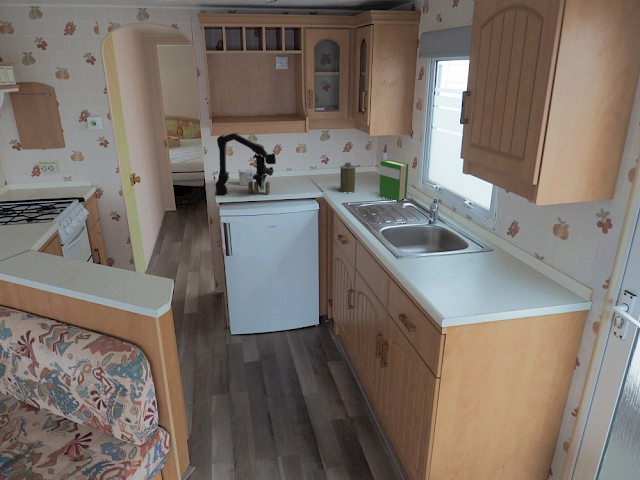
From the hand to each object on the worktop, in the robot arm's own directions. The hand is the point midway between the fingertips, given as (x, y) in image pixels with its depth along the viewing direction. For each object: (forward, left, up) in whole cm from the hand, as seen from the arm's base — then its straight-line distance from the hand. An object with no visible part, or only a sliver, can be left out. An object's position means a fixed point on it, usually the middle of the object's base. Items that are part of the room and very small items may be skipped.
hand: (261, 186), depth 315 cm
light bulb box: (-17, +23, -5) cm, 29 cm away
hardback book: (+89, +1, -5) cm, 89 cm away
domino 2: (-4, 0, -5) cm, 6 cm away
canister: (+58, +14, -5) cm, 59 cm away
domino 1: (-8, 0, -5) cm, 9 cm away
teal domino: (0, 0, -2) cm, 2 cm away
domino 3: (+4, 0, -5) cm, 6 cm away
